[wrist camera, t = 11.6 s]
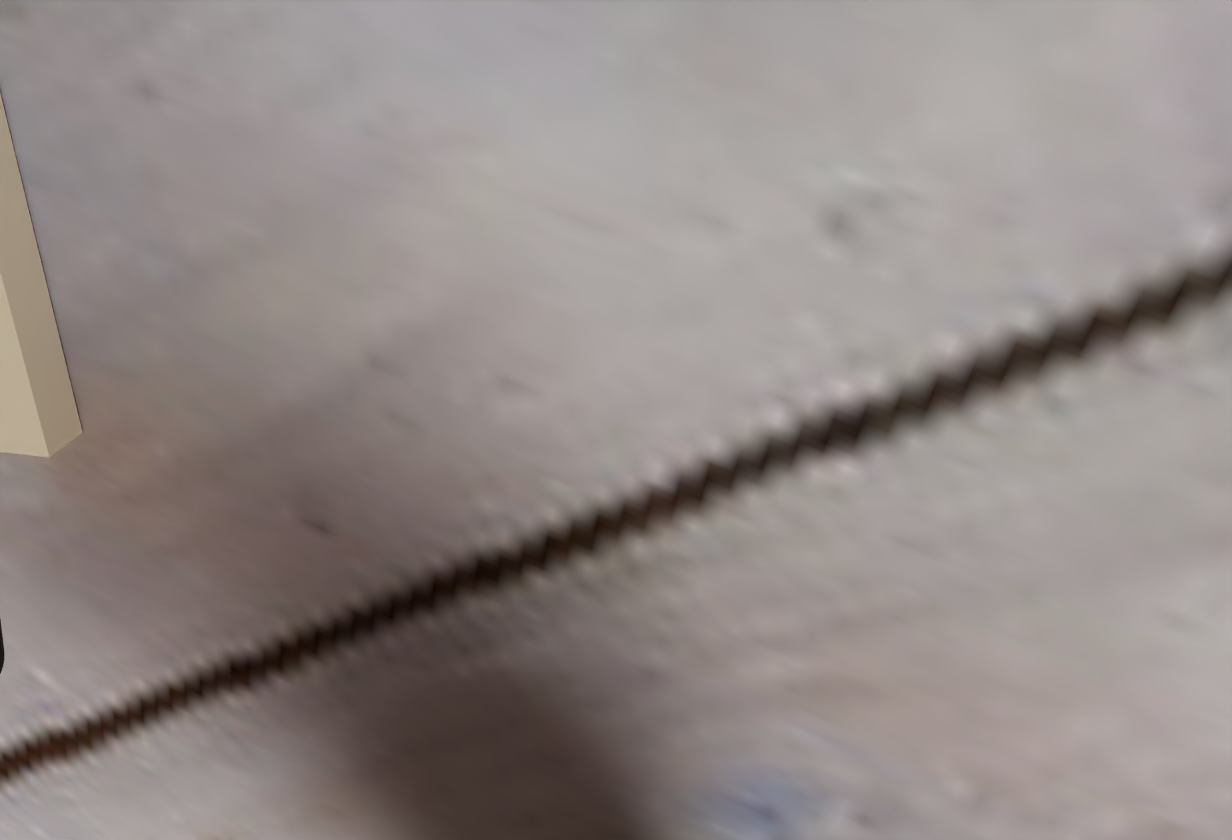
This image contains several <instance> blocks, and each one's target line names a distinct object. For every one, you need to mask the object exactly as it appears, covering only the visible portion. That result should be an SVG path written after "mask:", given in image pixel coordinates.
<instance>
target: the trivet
mask: <svg viewBox="0 0 1232 840" xmlns="http://www.w3.org/2000/svg"><path fill="white" fill-rule="evenodd" d="M82 433H83V432H82V428H81V424H80V420H79V416H78V412H77V407H76V403H75V399H74V395H73V391H72V387H71V383H70V379H69V374H68V370H67V366H66V362H65V358H64V354H63V350H62V346H61V342H60V337H59V333H58V329H57V325H56V321H55V317H54V313H53V309H52V304H51V300H50V296H49V292H48V288H47V284H46V280H45V276H44V271H43V267H42V263H41V259H40V255H39V251H38V247H37V243H36V238H35V234H34V230H33V226H32V222H31V218H30V214H29V210H28V206H27V201H26V197H25V193H24V189H23V185H22V181H21V177H20V173H19V168H18V164H17V160H16V156H15V152H14V148H13V144H12V140H11V135H10V131H9V127H8V123H7V119H6V115H5V111H4V107H3V102H2V98H1V94H0V452H6V453H15V454H23V455H32V456H40V457H51V456H52V455H54V454H55V453H56V452H58V451H59V450H60V449H62V448H63V447H64V446H66V445H67V444H68V443H70V442H71V441H72V440H74V439H75V438H76V437H78V436H79V435H80V434H82Z"/></svg>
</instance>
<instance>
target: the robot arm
mask: <svg viewBox="0 0 1232 840" xmlns="http://www.w3.org/2000/svg"><path fill="white" fill-rule="evenodd" d="M3 663H4V646H3V637H2V629H1V620H0V673H1V670H2V667H3Z"/></svg>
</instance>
